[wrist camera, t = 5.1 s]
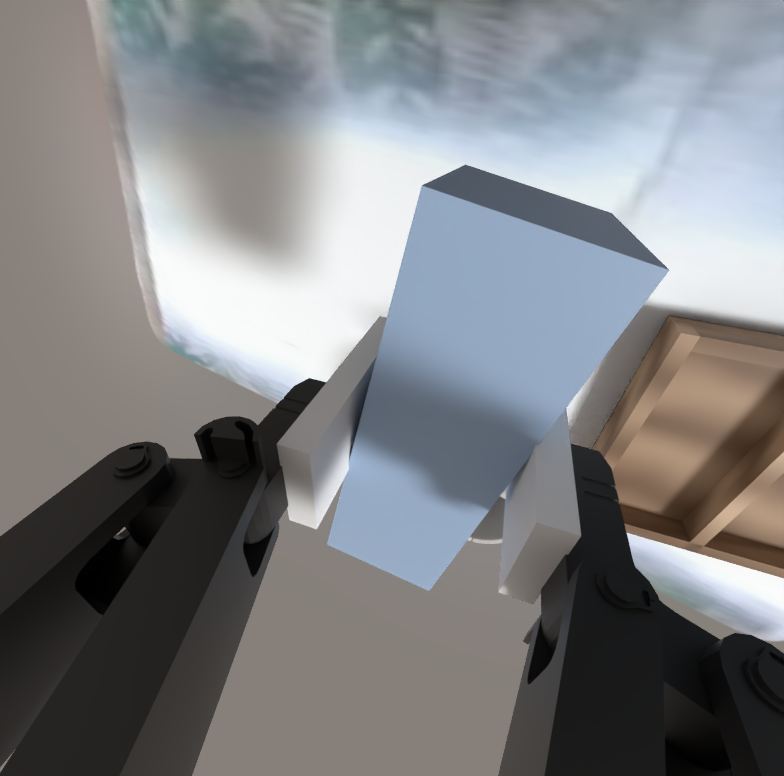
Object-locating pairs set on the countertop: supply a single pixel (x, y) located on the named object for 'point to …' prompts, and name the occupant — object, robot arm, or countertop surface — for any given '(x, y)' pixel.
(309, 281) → the countertop surface
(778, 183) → the countertop surface
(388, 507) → the long blue-grey cuboid
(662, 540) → the tray
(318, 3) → the countertop surface
